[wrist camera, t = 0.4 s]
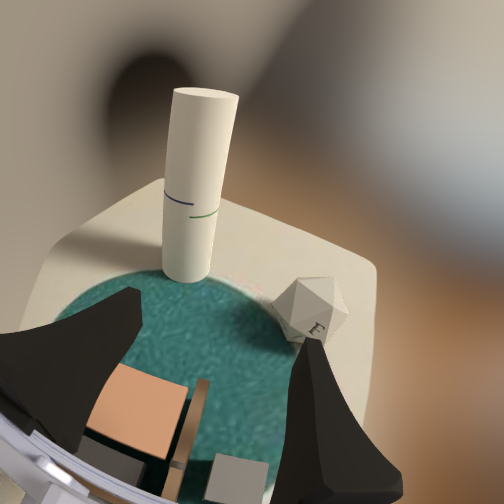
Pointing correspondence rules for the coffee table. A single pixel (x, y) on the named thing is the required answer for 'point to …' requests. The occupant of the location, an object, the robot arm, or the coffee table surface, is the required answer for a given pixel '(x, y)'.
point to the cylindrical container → (194, 179)
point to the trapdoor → (132, 422)
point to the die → (311, 309)
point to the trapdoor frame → (180, 455)
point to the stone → (235, 480)
